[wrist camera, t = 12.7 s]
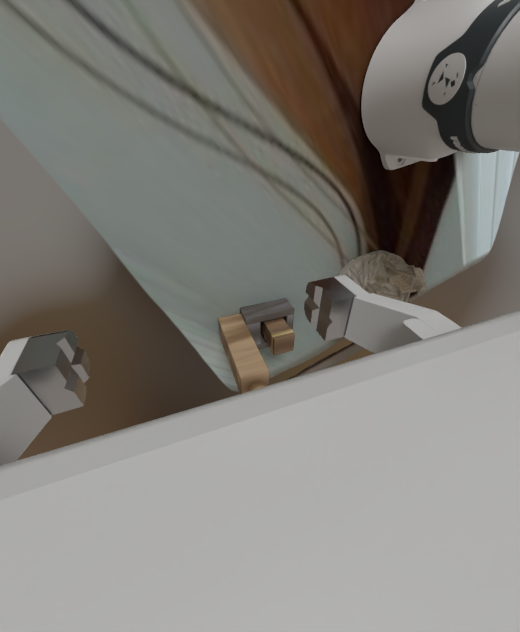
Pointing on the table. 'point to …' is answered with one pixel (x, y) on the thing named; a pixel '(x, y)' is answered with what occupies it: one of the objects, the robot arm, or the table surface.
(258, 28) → the table surface
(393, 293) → the ceramic cottage
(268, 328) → the small wooden block
